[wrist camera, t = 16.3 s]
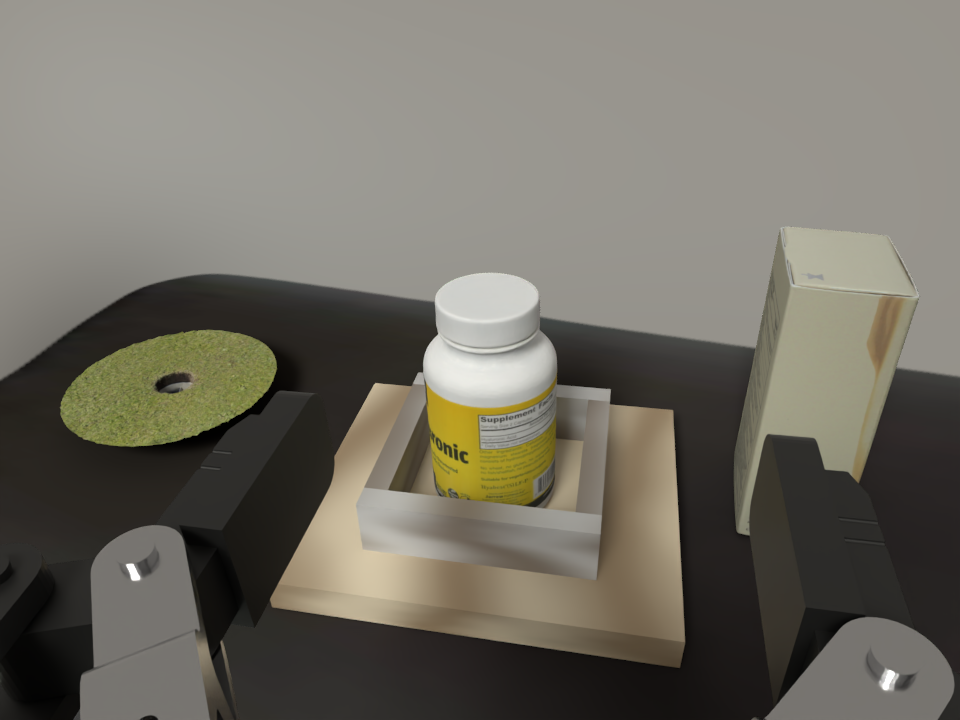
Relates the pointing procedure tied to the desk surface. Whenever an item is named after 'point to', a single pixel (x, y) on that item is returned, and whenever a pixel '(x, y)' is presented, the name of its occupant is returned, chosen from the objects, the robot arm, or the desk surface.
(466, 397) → the supplement bottle
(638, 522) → the socket board
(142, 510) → the desk surface
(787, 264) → the skincare box
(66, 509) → the desk surface
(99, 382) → the green disc with hole
